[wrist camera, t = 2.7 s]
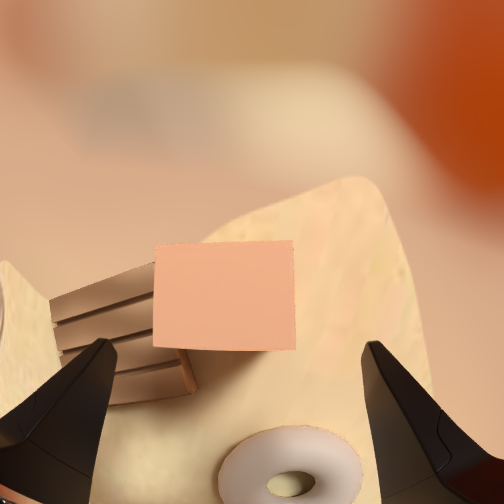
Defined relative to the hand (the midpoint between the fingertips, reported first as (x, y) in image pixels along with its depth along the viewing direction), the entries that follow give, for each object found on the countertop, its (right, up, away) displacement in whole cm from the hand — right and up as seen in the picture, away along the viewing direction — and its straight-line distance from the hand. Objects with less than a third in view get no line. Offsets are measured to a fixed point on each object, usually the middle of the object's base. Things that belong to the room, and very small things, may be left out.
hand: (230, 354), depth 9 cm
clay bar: (+1, 0, +9) cm, 10 cm away
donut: (+4, -13, +7) cm, 15 cm away
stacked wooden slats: (-9, -3, +10) cm, 14 cm away
